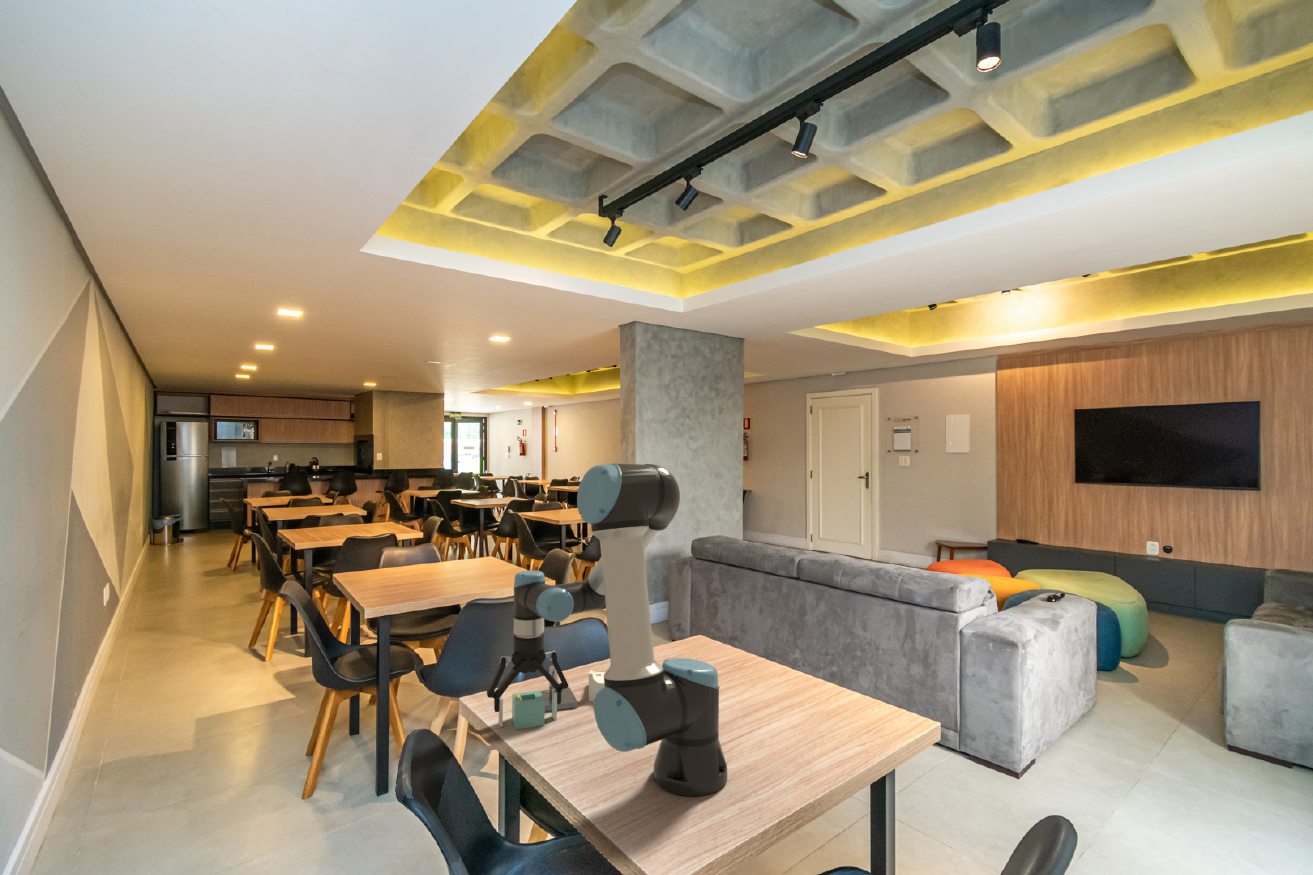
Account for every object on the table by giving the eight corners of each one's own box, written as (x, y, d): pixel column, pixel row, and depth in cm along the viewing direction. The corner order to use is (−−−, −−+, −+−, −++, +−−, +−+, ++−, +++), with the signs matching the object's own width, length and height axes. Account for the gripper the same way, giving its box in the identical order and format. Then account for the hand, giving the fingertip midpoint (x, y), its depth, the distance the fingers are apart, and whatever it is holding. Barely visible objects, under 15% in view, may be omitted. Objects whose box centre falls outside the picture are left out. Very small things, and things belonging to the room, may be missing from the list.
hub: (544, 725, 149) (544, 697, 149) (515, 729, 147) (515, 701, 147) (540, 714, 156) (540, 688, 156) (512, 717, 153) (512, 691, 154)
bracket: (614, 701, 165) (614, 673, 165) (588, 701, 165) (588, 673, 165) (617, 684, 178) (617, 658, 178) (593, 684, 178) (593, 658, 178)
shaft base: (577, 707, 160) (577, 670, 160) (535, 713, 156) (535, 675, 157) (569, 692, 170) (569, 658, 171) (529, 697, 167) (530, 662, 167)
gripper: (574, 625, 160) (573, 708, 159) (476, 634, 152) (475, 721, 151) (580, 633, 153) (579, 719, 152) (478, 642, 144) (477, 734, 144)
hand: (527, 720), depth 151 cm, fingers open, 12 cm apart
